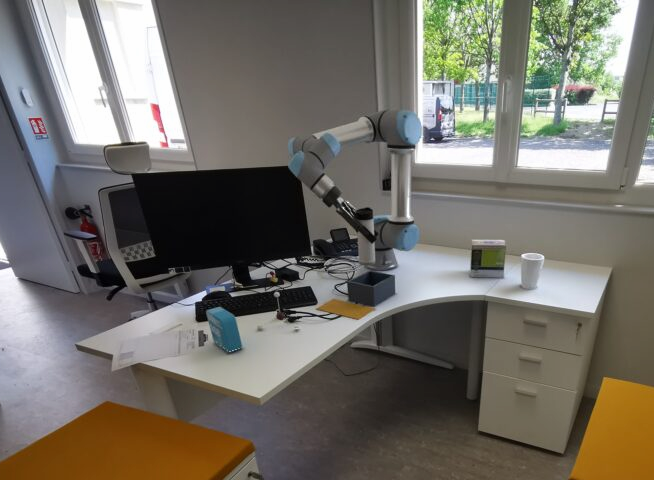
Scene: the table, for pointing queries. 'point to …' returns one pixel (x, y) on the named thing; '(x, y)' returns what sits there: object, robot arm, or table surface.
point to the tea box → (487, 258)
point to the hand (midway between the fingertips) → (375, 238)
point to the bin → (371, 288)
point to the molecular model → (278, 315)
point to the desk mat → (345, 309)
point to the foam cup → (530, 269)
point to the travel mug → (364, 246)
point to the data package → (224, 329)
